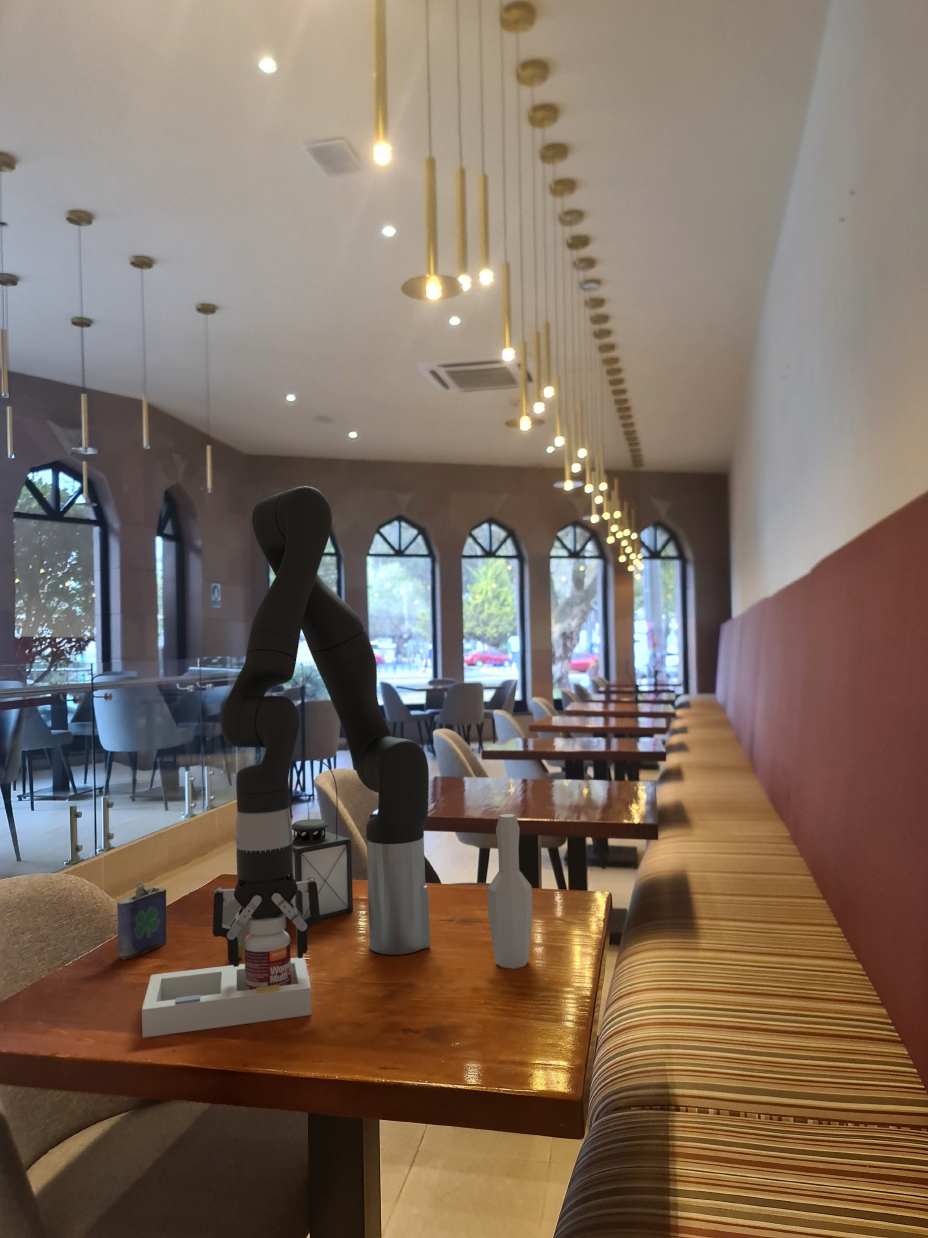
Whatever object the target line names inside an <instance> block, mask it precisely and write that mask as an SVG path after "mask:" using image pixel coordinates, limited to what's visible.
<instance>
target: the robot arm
mask: <svg viewBox="0 0 928 1238" xmlns="http://www.w3.org/2000/svg"><path fill="white" fill-rule="evenodd" d="M251 523H252V524H251V525H252V529H253V533H254V535H255V539H256V542H257V545H258V546H259V548H260V550H261V551H262V554H263V556H264V557H265V560H266V561H267V563H268V565H269V567H270V568H271V570H272V572H273V574H274V576H275V577H274V579H273V581H272V582H271V585H270V587H269V588H268V590H267V591H266V594H265V595H264V596H263V597H264V598H263V599H262V600H261V603H260V605H259V607H258V608H257V610H256V612H255V614H254V617H253V620H252V623H251V628H250V632H249V635H248V636H249V637H248V641H247V642H248V643H247V648H246V653H245V659H244V663H243V665H242V668H241V669H240V671H239V674H238V675H237V678H236V680H235V683H234V684H233V686H232V688H231V690H230V692H229V694H228V696H227V698H226V701H225V703H224V705H223V708H222V712H221V717H220V729H221V732H222V735H223V737H224V739H225V741H226V742H227V743H228V744H229V745H231V746H232V747H235V748H236V747H237V748H265V752H264V756H263V757H262V760H261V762H258V763H255V764H249V765H246V766H244V767H242V768H240V769H239V770H238V772H237V774H236V780H235V781H236V782H235V785H236V821H235V822H236V823H235V838H234V839H235V841H234V842H235V846H236V847H235V848H236V849H235V850H236V878H237V879H236V881H237V883H236V885H235V887H234V888H223V887H221V886H218V887H217V886H216V888H215V889H214V890H213V891H214V892H213V911H212V912H213V916H212V917H213V918H212V920H213V921H212V935H213V937H216V938H217V937H218V938H219V937H222V938H225V940H226V942H227V960H228V963H229V964H233V965H234V967H238V966H239V964H240V963H239V962H240V960H239V959H240V958H239V954H238V935H237V934H238V933H239V931H240V930H241V928H242V927H243V926H244V925H245V924H246V922H247V921H248V919H249V918H250V916H251V917H253V918H255V919H261V918H264V917H267V916H268V917H279V915H281V914H282V913H284V914H285V915H286V916H287V917H288V918H289V919H290V920H291V921H290V920H289V921H290V922H291V923H293V925H295V934H296V935H295V936H296V937H295V938H296V941H295V942H296V958H297V957H298V958H303V957H304V954H307V952H308V950H309V948H308V947H309V946H308V930H309V929H310V928H311V927H313V926H315V925H319V924H320V922H321V920H320V912H319V901H318V891H317V883H316V881H315V879H314V878H313V877H310V878H308V879H307V880H306V881H300V882H296V881H295V880H294V876H293V848H292V839H293V835H294V832H293V830H292V824H293V823H292V816H291V812H290V792H289V791H290V789H289V776H290V771H291V767H292V766H291V764H292V763H293V762H292V760H293V757H294V752H295V751H294V750H295V747H296V743H297V738H298V736H299V731H300V724H301V722H300V721H301V720H300V714H299V710H298V708H297V706H296V704H295V702H293V700H292V699H290V698H289V697H288V696H283V695H267V696H266V693H267V692H268V691H269V690H271V689H272V688H274V687H277V686H280V685H284V684H287V683H288V682H290V681H291V680H292V679H293V677H294V674H295V671H296V670H295V669H296V666H297V665H296V664H297V660H298V659H297V658H298V652H299V644H300V639H301V632H302V634H303V637H304V639H305V642H306V644H307V648H308V650H309V652H310V655H311V658H312V660H313V663H314V664H315V667H316V669H317V671H318V673H319V675H320V678H321V680H322V682H323V684H324V686H325V689H326V691H327V694H328V696H329V698H330V701H331V704H332V706H333V708H334V710H335V712H336V714H337V716H338V719H339V722H340V725H341V726H342V731H343V733H344V737H345V739H346V742H347V745H348V750H349V753H350V756H351V759H352V763H353V766H354V769H355V771H356V774H357V776H358V779H359V780H360V782H361V784H362V785H364V786H365V787H366V788H367V789H369V790H370V791H372V792H375V793H378V799H377V800H378V805H377V807H378V808H377V813H376V815H375V816H374V817H372V818H370V819H369V820H368V821H367V823H366V829H365V832H366V857H367V858H366V861H367V862H366V866H367V867H366V868H367V869H366V870H367V897H368V899H367V900H368V901H367V903H368V904H367V905H368V937H369V939H368V940H369V949H370V950H372V951H373V952H375V953H376V954H377V953H378V954H382V955H389V956H392V955H396V956H397V955H407V954H412V953H415V952H418V951H420V950H424V949H428V948H431V932H430V931H431V930H430V926H431V925H430V899H429V898H430V895H429V886H428V885H427V884H426V867H425V864H426V863H425V862H426V861H425V839H424V838H425V825H426V822H427V819H428V816H429V799H430V798H429V796H430V795H429V794H430V793H429V791H430V790H429V788H430V786H429V785H430V777H429V776H430V774H429V762H428V758H427V754H426V752H425V750H424V749H423V747H422V746H421V745H420V744H419V743H418V742H416V741H414V740H411V739H409V738H401V737H394V735H393V733H392V732H391V730H390V728H389V726H388V723H387V722H386V720H385V717H384V715H383V713H382V710H381V707H380V703H379V700H378V699H379V698H378V672H377V671H378V670H377V669H378V667H377V665H378V664H377V660H376V656H375V651H374V649H373V646H372V643H371V640H370V639H369V636H368V634H367V631H366V629H365V627H364V626H365V625H364V624H363V622H362V620H361V618H360V616H358V614H357V612H355V610H354V609H353V608H352V607H351V606H350V605H349V604H348V603H346V601H345V600H343V598H341V597H340V596H339V595H338V594H337V593H335V591H334V590H332V589H331V588H330V587H329V586H328V585H327V584H326V583H325V582H324V581H323V579H322V578H321V577H320V575H319V573H318V572H319V569H320V565H321V562H322V559H323V556H324V553H325V551H326V548H327V544H328V542H329V539H330V535H331V531H332V526H333V513H332V509H331V506H330V504H329V500H328V499H327V498H326V496H325V495H324V494H323V492H321V491H320V490H318V489H317V488H315V487H313V486H309V485H303V486H302V485H301V486H297V487H293V488H291V489H290V488H289V489H287V490H285V491H282V492H279V493H277V494H276V493H275V494H274V495H271V496H268V497H266V498H264V499H262V500H260V501H258V503H256V505H255V506H254V508H253V510H252V514H251ZM297 890H300V891H302V893H303V896H305V897H308V900H309V911H310V914H309V915H307V916H304V917H303V916H302V914H301V913H300V912H299V911H298V910H297V908H296V907H295V906H294V905H293V903H292V902H291V900H292V899H293V897H294V896H295V894H296V893H297ZM233 897H235V899H236V900H237V902H238V903H239V904H240V905H241V908H240V909H239V911H238V912H237V914H236V916H235V918H234V919H233V921H232V922H231V923H230V925H229V926H228V925H224V924H222V920H223V906H227V905H228V904H229V901H230V899H231V898H233Z"/></svg>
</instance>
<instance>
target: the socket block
mask: <svg viewBox="0 0 928 1238" xmlns="http://www.w3.org/2000/svg"><path fill="white" fill-rule="evenodd" d="M290 959H291V985H285V986H279V985H273V986H265V987H257V988H256V989H253V990H245V963H239V966H238V967H234V964H233V965H223V966H216V967H215V966H214V967H207V968H197V969H189V970H181V971H172V972H166V973H157V974H156V973H155V974H150V979H149V983H148V986H147V990H146V993H145V996H144V997H145V998H144V1000H143V1003H142V1009H141V1025H142V1026H141V1027H142V1029H141V1032H142V1033H141V1034H142V1038H144V1039H145V1038H151V1037H158V1036H165V1035H172V1034H174V1035H175V1034H179V1033H186V1032H187V1033H188V1032H194V1031H201V1030H210V1029H215V1028H217V1029H219V1028H225V1027H231V1026H238V1025H245V1024H254V1023H260V1022H261V1023H262V1022H267V1021H269V1022H271V1021H277V1020H284V1019H290V1018H291V1019H292V1018H297V1017H305V1016H312V987H311V983H310V978H309V972H308V968H307V967H308V966H307V963H306V958H305V956H303V958H298V957H297V956H296V957H290Z"/></svg>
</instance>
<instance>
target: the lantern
mask: <svg viewBox="0 0 928 1238" xmlns="http://www.w3.org/2000/svg"><path fill="white" fill-rule="evenodd" d="M305 760H314V761H317V762H320V763H322V764H323V765H324V766H325V767H327V768H328V770H329V771H330V772H331V775H332V778H333V780H334V787H335V793H336V795H335V796H336V798H335V799H336V800H335V801H336V804H335V805H336V814H335V815H336V816H335V817H336V818H335V833H332V832H329V831H326V828H328V827H329V826H330V824H329V823H328V822H326V821H325V820H323V819H320V818H319V819H318V818H307V819H301V820H296V821H295V822H293V823H292V831H293V839H292V848H293V876H294V880H295V881H296V882H300V881H306V880H307V879H308V878H310V877H313V878H314V879H315V881H316V883H317V891H318V901H319V912H320V921H321V920H326V919H329V918H333V917H338V916H342V915H345V914H351V913H354V902H353V900H354V899H353V897H354V895H353V892H354V891H353V865H352V864H353V863H352V861H353V860H352V859H353V858H352V857H353V856H352V855H353V854H352V838H348V837H344V836H342V835H338V807H339V806H338V805H339V804H338V803H339V801H338V788H337V787H338V786H337V781H336V777H335V775H334V773H333V771H332V769H331V768H330V767H329V765H327V764H326V762H323V761H322V760H320V759H318V758H310V757H307V758H305V757H304V758H301V759H298V760H296V761H294V762H291V767H292V766H293V765H294V764H296V763H298V762H300V761H305ZM291 902H292V903H293V905H294V906H295V907H296V908H297V910H298V911H299V912H300V913H301V914H302V916H303V917H304V916H307V915H309V914H310V911H309V900H308V897H305V896H303V893H302V891H300V890H297V893H296V894H295V896H294V897H293V899H292V900H291ZM286 920H288V921H289V922H292V921H291V920H290V919H289V918H288V917H287V916H286Z"/></svg>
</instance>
